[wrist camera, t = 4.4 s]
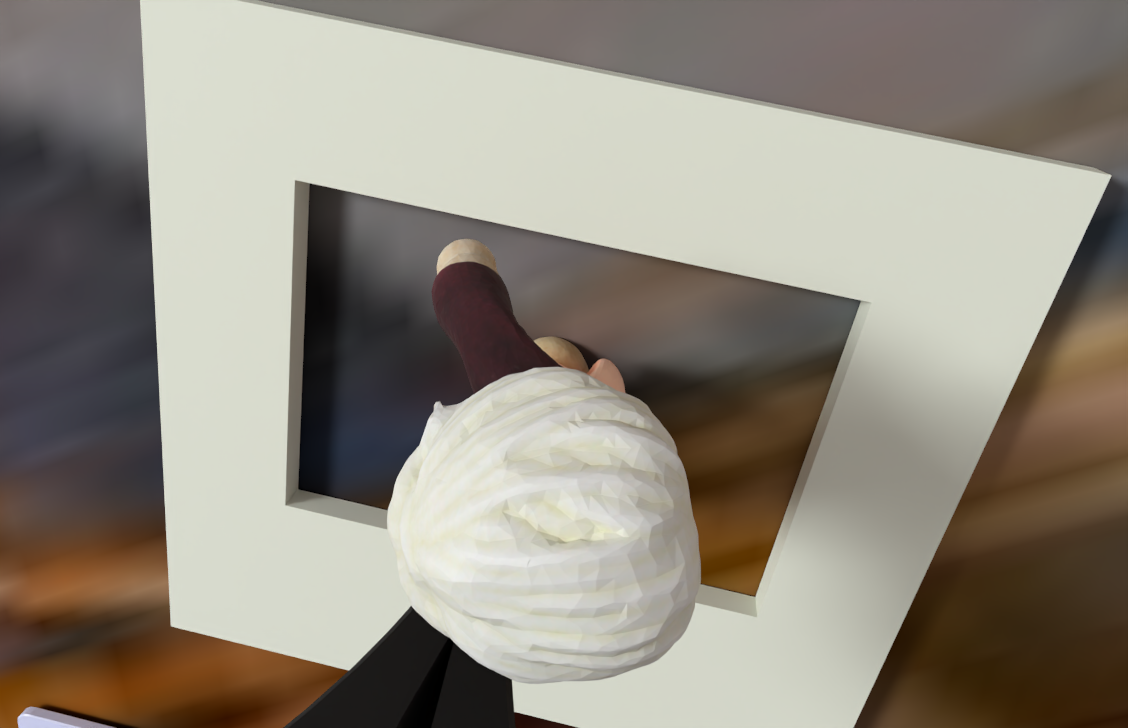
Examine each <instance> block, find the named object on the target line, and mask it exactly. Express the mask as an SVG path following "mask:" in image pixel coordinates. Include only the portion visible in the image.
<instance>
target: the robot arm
mask: <svg viewBox="0 0 1128 728" xmlns="http://www.w3.org/2000/svg"><path fill="white" fill-rule="evenodd" d="M18 726H19V728H115V727H112V726H108V725H104V724H100V723H96V722H92V721H88V720H84V719H80V718H77V717H73V716H69V715H65V714H61V713H57V712H53V711H49V710H46V709H42V708H38V707H29V708H26V709H25V711H24V712H23V713H22V714H21V715H20V716H19V717H18ZM284 728H516V727H515V718H514V703H513V689H512V679H510V678H508V677H505V676H503V675H501V674H499V673H497V672H495V671H494V670H491V669H489V668H487V667H485V666H483V665H482V664H480V663H478V662H477V661H475V660H474V659H473V658H472V657H470V656H469V655H468V654H467V653H465V652H464V651H463V650H462V649H460V648H459V647H458V646H457V645H456V644H455V643H454V642H453V641H452V640H451V638H449V637H447V636H445V635H444V634H442V633H441V632H440V631H438V630H437V629H435V628H434V627H433V626H431V625H430V624H429V623H428V622H427V621H426V620H425V619H424V618H423V617H422V616H421V615H420V614H419V613H418V612H416V611H415V609H414V608H413V607H412V606H410V607H409V609H408V610H407V611H406V612H405V613H404V614H403V615H402V617H401V618H400V619H399V620H398V621H397V622H396V623H395V624H394V625H393V626H392V628H391V629H390V630H389V631H388V632H387V633H386V634H385V635H384V636H383V637H382V638H381V639H380V640H379V641H378V642H377V643H376V644H375V645H374V646H373V647H372V648H371V649H370V650H369V651H368V652H367V653H366V654H365V655H364V656H363V657H362V658H361V659H360V660H359V661H358V662H357V663H356V664H355V665H354V666H353V667H352V668H351V669H350V670H349V671H348V672H347V673H346V674H345V675H344V676H343V677H342V678H340V679H339V680H338V681H337V682H336V683H335V684H334V685H333V686H331V687H330V688H329V689H328V690H327V691H326V692H325V693H324V694H323V695H321V696H320V697H319V698H318V699H317V700H316V701H315V702H314V703H313V704H311V705H310V706H309V707H308V708H307V709H306V710H304V711H303V712H302V713H301V714H300V715H298V716H297V717H296V718H295V719H293V720H292V721H291V722H290V723H289V724H287V725H286V726H285V727H284Z"/></svg>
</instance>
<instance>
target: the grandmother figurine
mask: <svg viewBox="0 0 1128 728" xmlns="http://www.w3.org/2000/svg"><path fill="white" fill-rule="evenodd" d="M496 270H497V269H496V263H495V259H494V257H493V255H492V253H491V251H490V250H489V249H488V248H487V247H486V246H485V245H483V244H482V243H480V242H479V241H477V240H472V239H461V240H456V241H454V242H452V243H450V244H449V245H448V246H446V247H445V248H444V250H443V251H442V252H441V254H440V256H439V257H438V263H437V276H436V278H435V281H434V284H433V288H432V299H433V305H434V310H435V313H436V316H437V319H438V322H439V324H440V326H441V328H442V329H443V330H444V331H445V333H446V335H447V336H448V337H449V338H450V339H451V340H452V342H453V343H454V344H455V346H456V347H457V349H458V351H459V353H460V355H461V356H462V359H463V362H464V365H465V368H466V371H467V374H468V377H469V381H470V384H471V387H472V390H473V392H474V395H472V396H471V397H470V398H467V399H466V400H465V401H463V402H462V403H459V404H456V405H451V406H442V404H441V402H440V401H439V402H436V403H435V405H434V412H433V413H432V415H431V416H430V417H429V420H428V422H427V425H426V428H425V431H424V434H423V437H422V440H421V443H420V445H419V446H418V447H417V449H416V450H415V451H414V452H413V454H412V455H411V456H410V457H409V458H408V460H407V461H406V463H405V464H404V466H403V468H402V470H401V472H400V473H399V475H398V477H397V480H396V483H395V485H394V492H393V496H392V499H391V502H390V505H389V508H388V514H387V530H388V535H389V538H390V541H391V543H392V546H393V548H394V551H395V555H396V558H397V566H398V573H399V578H400V583H401V585H402V588H403V589H404V591H405V593H406V594H407V597H408V600H409V602H410V604H411V606H412V607H413V608H414V609H415V611H416V612H418V613H419V614H420V615H421V616H422V617H423V618H424V619H425V620H426V621H427V622H428V623H429V624H430V625H431V626H433V627H434V628H435V629H437V630H438V631H440V632H441V633H442V634H444V635H445V636H447V637H449V638H451V640H452V641H453V642H454V643H455V644H456V645H457V646H458V647H459V648H460V649H462V650H463V651H464V652H465V653H467V654H468V655H469V656H470V657H472V658H473V659H474V660H475V661H477V662H478V663H480V664H482V665H483V666H485V667H487V668H489V669H491V670H494V671H495V672H497V673H499V674H501V675H503V676H505V677H508V678H510V679H512V680H514V681H516V682H522V683H528V684H542V683H553V682H562V681H594V680H601V679H606V678H611V677H615V676H617V675H620V674H623V673H625V672H628V671H631V670H634V669H637V668H640V667H643V666H646V665H649V664H652V663H654V662H656V661H657V660H659V659H660V658H661V657H662V656H663V655H665V654H666V653H667V652H668V651H669V650H670V649H671V647H672V646H673V645H674V643H675V642H677V641H678V640H679V639H680V638H681V637H682V635H683V634H684V633H685V631H686V629H687V627H688V625H689V623H690V620H691V617H692V614H693V612H694V609H695V597H696V595H697V592H698V589H699V586H700V583H701V564H700V555H699V548H698V532H697V528H696V524H695V521H694V517H693V513H692V507H691V501H690V494H689V486H688V482H687V477H686V472H685V469H684V467H683V464H682V462H681V460H680V458H679V457H678V455H677V448H676V446H675V443H674V440H673V439H672V437H671V436H670V434H669V433H668V431H667V430H666V429H665V428H664V427H663V425H662V424H661V422H660V421H659V420H658V419H657V418H656V417H655V416H654V415H653V414H652V412H651V411H650V409H649V407H648V406H647V405H646V404H645V403H643V402H642V401H641V400H640V399H638V398H636V397H633V396H631V395H629V394H626V393H625V385H624V382H623V379H622V376H621V374H620V372H619V370H618V369H617V367H616V366H615V365H614V364H613V363H612V362H611V361H610V360H607V359H599V360H598V361H597V362H596V363H595V364H594V365H593V366H592V368H591V369H590V370H589V369H588V366H587V363H586V361H585V359H584V358H583V356H582V354H581V352H580V351H579V350H578V349H577V348H576V347H575V346H574V345H573V344H571V343H570V342H568V341H566V340H564V339H562V338H558V337H543V338H538V339H536V340H534V341H533V340H532V339H531V338H530V337H529V336H528V335H527V333H526V332H525V330H524V329H523V328H522V327H521V326H520V325H519V324H518V322H517V321H516V318H515V317H514V315H513V309H512V305H511V301H510V297H509V294H508V291H507V288H506V286H505V284H504V282H503V280H502V279H501V277H500V276H499V274H498V272H497V271H496Z"/></svg>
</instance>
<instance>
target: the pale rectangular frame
mask: <svg viewBox="0 0 1128 728" xmlns="http://www.w3.org/2000/svg"><path fill="white" fill-rule="evenodd" d="M140 6H141V27H142V47H143V67H144V88H145V108H146V128H147V149H148V169H149V189H150V210H151V230H152V250H153V271H154V291H155V311H156V332H157V352H158V372H159V393H160V413H161V433H162V454H163V474H164V494H165V515H166V535H167V555H168V576H169V596H170V616H171V626H172V627H176V628H180V629H184V630H188V631H192V632H196V633H200V634H204V635H208V636H212V637H216V638H220V639H224V640H228V641H232V642H236V643H240V644H244V645H248V646H253V647H257V648H261V649H265V650H269V651H273V652H277V653H281V654H285V655H289V656H293V657H297V658H301V659H305V660H309V661H313V662H317V663H321V664H325V665H329V666H333V667H337V668H341V669H345V670H350V669H351V668H352V667H353V666H354V665H355V664H356V663H357V662H358V661H359V660H360V659H361V658H362V657H363V656H364V655H365V654H366V653H367V652H368V651H369V650H370V649H371V648H372V647H373V646H374V645H375V644H376V643H377V642H378V641H379V640H380V639H381V638H382V637H383V636H384V635H385V634H386V633H387V632H388V631H389V630H390V629H391V628H392V626H393V625H394V624H395V623H396V622H397V621H398V620H399V619H400V618H401V617H402V615H403V614H404V613H405V612H406V611H407V610H408V609H409V607H410V606H411V604H410V602H409V600H408V597H407V594H406V593H405V591H404V589H403V588H402V585H401V583H400V578H399V573H398V566H397V558H396V555H395V551H394V548H393V546H392V543H391V541H390V538H389V535H388V530H387V514H388V510H384V509H380V508H375V507H371V506H367V505H363V504H358V503H354V502H350V501H346V500H342V499H337V498H333V497H329V496H325V495H320V494H316V493H312V492H308V491H303V490H299V489H298V481H299V454H300V427H301V401H302V374H303V347H304V320H305V293H306V267H307V240H308V213H309V186H310V183H311V184H316V185H320V186H325V187H330V188H335V189H339V190H344V191H349V192H353V193H358V194H363V195H367V196H372V197H377V198H382V199H386V200H391V201H396V202H400V203H405V204H410V205H414V206H419V207H424V208H429V209H433V210H438V211H443V212H447V213H452V214H457V215H461V216H466V217H471V218H476V219H480V220H485V221H490V222H494V223H499V224H504V225H508V226H513V227H518V228H522V229H527V230H532V231H537V232H541V233H546V234H551V235H555V236H560V237H565V238H569V239H574V240H579V241H584V242H588V243H593V244H598V245H602V246H607V247H612V248H616V249H621V250H626V251H631V252H635V253H640V254H645V255H649V256H654V257H659V258H663V259H668V260H673V261H678V262H682V263H687V264H692V265H696V266H701V267H706V268H710V269H715V270H720V271H725V272H729V273H734V274H739V275H743V276H748V277H753V278H757V279H762V280H767V281H772V282H776V283H781V284H786V285H790V286H795V287H800V288H804V289H809V290H814V291H819V292H823V293H828V294H833V295H837V296H842V297H847V298H851V299H856V300H861V303H860V306H859V308H858V311H857V314H856V317H855V320H854V322H853V325H852V328H851V331H850V333H849V336H848V339H847V342H846V345H845V347H844V350H843V353H842V356H841V359H840V361H839V364H838V367H837V370H836V373H835V375H834V378H833V381H832V384H831V387H830V389H829V392H828V395H827V398H826V401H825V403H824V406H823V409H822V412H821V415H820V417H819V420H818V423H817V426H816V429H815V431H814V434H813V437H812V440H811V443H810V445H809V448H808V451H807V454H806V457H805V459H804V462H803V465H802V468H801V471H800V473H799V476H798V479H797V482H796V485H795V487H794V490H793V493H792V496H791V499H790V501H789V504H788V507H787V510H786V513H785V515H784V518H783V521H782V524H781V527H780V529H779V532H778V535H777V538H776V541H775V543H774V546H773V549H772V552H771V555H770V557H769V560H768V563H767V566H766V569H765V571H764V574H763V577H762V580H761V583H760V585H759V588H758V591H757V594H756V597H753V596H749V595H744V594H740V593H736V592H732V591H727V590H723V589H719V588H715V587H710V586H706V585H702V584H700V586H699V589H698V592H697V595H696V597H695V609H694V612H693V614H692V617H691V620H690V623H689V625H688V627H687V629H686V631H685V633H684V634H683V635H682V637H681V638H680V639H679V640H678V641H677V642H675V643H674V645H673V646H672V647H671V649H670V650H669V651H668V652H667V653H666V654H665V655H663V656H662V657H661V658H660V659H659V660H657V661H656V662H654V663H652V664H649V665H646V666H643V667H640V668H637V669H634V670H631V671H628V672H625V673H623V674H620V675H617V676H615V677H611V678H606V679H601V680H594V681H562V682H553V683H542V684H528V683H522V682H516V681H514V680H512V689H513V703H514V712H518V713H522V714H526V715H530V716H534V717H538V718H542V719H546V720H550V721H554V722H558V723H562V724H566V725H570V726H575V727H579V728H854V725H855V723H856V721H857V719H858V717H859V715H860V713H861V710H862V708H863V706H864V704H865V702H866V700H867V698H868V695H869V693H870V691H871V689H872V687H873V685H874V683H875V681H876V678H877V676H878V674H879V672H880V670H881V668H882V666H883V663H884V661H885V659H886V657H887V655H888V653H889V651H890V648H891V646H892V644H893V642H894V640H895V638H896V636H897V633H898V631H899V629H900V627H901V625H902V623H903V621H904V618H905V616H906V614H907V612H908V610H909V608H910V606H911V604H912V601H913V599H914V597H915V595H916V593H917V591H918V589H919V586H920V584H921V582H922V580H923V578H924V576H925V574H926V571H927V569H928V567H929V565H930V563H931V561H932V559H933V556H934V554H935V552H936V550H937V548H938V546H939V544H940V542H941V539H942V537H943V535H944V533H945V531H946V529H947V527H948V524H949V522H950V520H951V518H952V516H953V514H954V512H955V509H956V507H957V505H958V503H959V501H960V499H961V497H962V494H963V492H964V490H965V488H966V486H967V484H968V482H969V480H970V477H971V475H972V473H973V471H974V469H975V467H976V465H977V462H978V460H979V458H980V456H981V454H982V452H983V450H984V447H985V445H986V443H987V441H988V439H989V437H990V435H991V432H992V430H993V428H994V426H995V424H996V422H997V420H998V417H999V415H1000V413H1001V411H1002V409H1003V407H1004V405H1005V403H1006V400H1007V398H1008V396H1009V394H1010V392H1011V390H1012V388H1013V385H1014V383H1015V381H1016V379H1017V377H1018V375H1019V373H1020V370H1021V368H1022V366H1023V364H1024V362H1025V360H1026V358H1027V355H1028V353H1029V351H1030V349H1031V347H1032V345H1033V343H1034V341H1035V338H1036V336H1037V334H1038V332H1039V330H1040V328H1041V326H1042V323H1043V321H1044V319H1045V317H1046V315H1047V313H1048V311H1049V308H1050V306H1051V304H1052V302H1053V300H1054V298H1055V296H1056V293H1057V291H1058V289H1059V287H1060V285H1061V283H1062V281H1063V279H1064V276H1065V274H1066V272H1067V270H1068V268H1069V266H1070V264H1071V261H1072V259H1073V257H1074V255H1075V253H1076V251H1077V249H1078V246H1079V244H1080V242H1081V240H1082V238H1083V236H1084V234H1085V231H1086V229H1087V227H1088V225H1089V223H1090V221H1091V219H1092V216H1093V214H1094V212H1095V210H1096V208H1097V206H1098V204H1099V202H1100V199H1101V197H1102V195H1103V193H1104V191H1105V189H1106V187H1107V184H1108V182H1109V180H1110V178H1111V176H1112V175H1109V174H1107V173H1105V172H1103V171H1100V170H1098V169H1096V168H1093V167H1088V166H1083V165H1078V164H1073V163H1068V162H1063V161H1058V160H1053V159H1048V158H1043V157H1038V156H1033V155H1028V154H1023V153H1018V152H1013V151H1008V150H1003V149H998V148H993V147H988V146H983V145H978V144H973V143H968V142H963V141H958V140H953V139H948V138H943V137H938V136H933V135H928V134H923V133H918V132H913V131H908V130H903V129H898V128H893V127H888V126H883V125H878V124H873V123H868V122H863V121H858V120H853V119H848V118H843V117H838V116H833V115H828V114H823V113H818V112H813V111H808V110H803V109H798V108H793V107H788V106H783V105H778V104H773V103H768V102H763V101H758V100H753V99H748V98H743V97H738V96H733V95H728V94H723V93H718V92H713V91H708V90H703V89H698V88H693V87H688V86H683V85H678V84H673V83H668V82H663V81H658V80H653V79H648V78H643V77H638V76H633V75H628V74H623V73H618V72H613V71H608V70H603V69H598V68H593V67H588V66H583V65H578V64H573V63H568V62H563V61H558V60H553V59H548V58H543V57H538V56H533V55H528V54H523V53H518V52H513V51H508V50H503V49H498V48H493V47H488V46H483V45H478V44H473V43H468V42H463V41H458V40H453V39H448V38H443V37H438V36H433V35H428V34H423V33H418V32H413V31H408V30H403V29H398V28H393V27H388V26H383V25H378V24H373V23H368V22H363V21H358V20H353V19H348V18H343V17H338V16H333V15H328V14H323V13H318V12H313V11H308V10H303V9H298V8H293V7H288V6H283V5H278V4H273V3H268V2H263V1H258V0H140Z"/></svg>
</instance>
